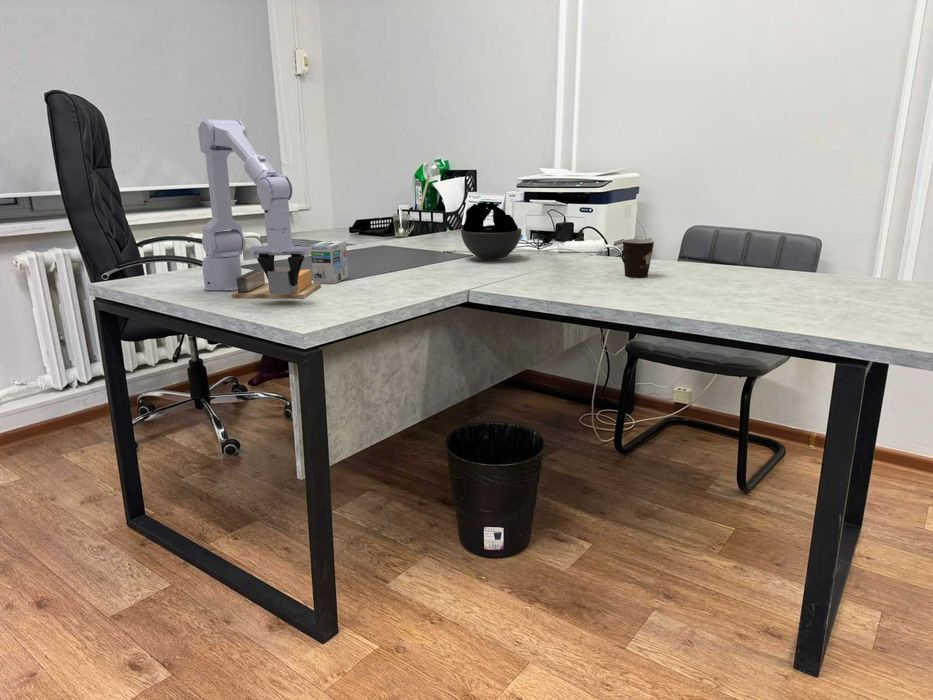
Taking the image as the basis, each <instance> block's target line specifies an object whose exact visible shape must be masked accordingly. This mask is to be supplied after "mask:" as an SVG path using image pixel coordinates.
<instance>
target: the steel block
mask: <svg viewBox="0 0 933 700" xmlns="http://www.w3.org/2000/svg"><path fill="white" fill-rule="evenodd" d="M267 273H268V279H267V281H268V283H269V292H270V294H291V293H293V292H294V291H296V290H298V284H297V285H295V286H292V283H291V271H290V266H276V267H274V269H272V270H270V271H268V272H267Z"/></svg>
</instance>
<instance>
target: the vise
mask: <svg viewBox="0 0 933 700" xmlns="http://www.w3.org/2000/svg"><path fill="white" fill-rule="evenodd" d="M236 279H237V288H238V290H235V291H234V292H232V293H231V294H230V296H231V299H233V298H234V299H305V298H307V297H308V296H310V295H311V294H313V293H314V292H315V291H317V290H318V289H320V288H322V283H312V284H311V285H309V286H307V287H306V288H304V289H303V290H301V291H299V292H298V293H291V294H270V292H269V283H266V280H265V272H264V270H263V268H262V269H257V268H256V269H252V270H251V271H248V272H246V273H245V274H242V276H239V277H237V278H236Z"/></svg>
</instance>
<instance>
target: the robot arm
mask: <svg viewBox="0 0 933 700" xmlns="http://www.w3.org/2000/svg"><path fill="white" fill-rule="evenodd" d="M197 131H198V139H199V142H198V143H199V147H200V152H201V153H203V154H204V155H205V160H206V161H205V163H206V170H207V171H206V172H207V179H208V180H207V181H208V191H209V192H208V193H209V197H210V198H209V199H210V200H209V201H210V210H211V219H210V220H209V221H208V222H207V223H205V225H204V226H203V227H202V239H201V244H202V248H203V251H204V252H205V253H206V256H204V257H203V260H202V263H201V264H202V266H201V268H202V275H203V283H204V288H203V290H204V291H238V288H237V279H236V278H237V277H239V276H242V275H243V272H242V264H241V263H242V262H241V255H243V252H244V250H245V248H246V244H247V243H246V238H245V237H246V236H245V235H244V231H243V227H242V225H241V224H240V223H239V222H237V221H236V220H235V219H233V210H232V201H231V200H232V199H231V192H230V191H231V190H230V189H231V188H230V178H229V168H228V157H229V156H230V154H231V153H235V154H236V155H237V156H238V157H239V158H240V160H242V161H243V163H244V166H243V167H244V171H245V173H246V174H247V175H248V177H249V178H250V180H251V181H252V183H254V185H255V186H256V187H257V188H256V194H257V197H258V198H259V201H260V206H261V207H260V208H261V209H262V210H263V213H264V225H265V234H266V244H267V245H261V246H250V247H249V256H258V257H257V258H256V261H257V262H258V264H259V265H260V267H261V268H262V271H264V275H265V277H266V278H267V280H268V273H267V272H268V271H270V270H272V269H274V268H275V256H288V257H287V261H288V265H289V266H288V267H290V271H291V283H292V286H295V285H297V284H298V275H299V271H301V268H302V264H303V262H304V260H305V257H309V256H311V246H303V245H302V246H300V245H293V240H292V239H293V238H292V229H291V228H292V227H291V216H290V208H289V206H290V204H289V201H290V200H291V199H292V198H293V186H292V185H293V184H292V182H291V180H290V178H289V177H288V176H287V175H282V174H281V173H278V172H277V171H276V170H275V168H274V167H273V166H272V165H271V163H270V161H268V159H267V158H266V157H265V155H262V154H258V153H257V152H256V151H255V149H254V148H253V146H252V144H251V142H250V140H249V139H248V137H247V135H248V134H247V133H248V132H247V128H246V127H245V125H244V123H243V122H242V120H240V119H209V118H203V119H202V120H201V122H200V124H199V126H198V129H197Z"/></svg>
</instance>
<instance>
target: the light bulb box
mask: <svg viewBox="0 0 933 700" xmlns="http://www.w3.org/2000/svg"><path fill="white" fill-rule="evenodd" d="M310 247H311V255H310V256H311V265H312V269H311V270H312V282H313V284H327V283H328V284H330V285H331V284H332V285H333V284H337V283H340V282H341V280H342V281H343V280H346V279H348V278H349V268H348V253H347V242H346V240H324V241H321V242H320V241H319V242H317V243H314V244H311V245H310Z"/></svg>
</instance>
